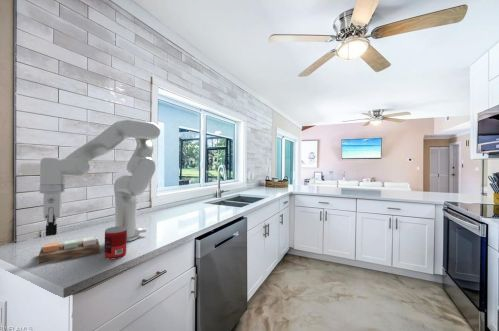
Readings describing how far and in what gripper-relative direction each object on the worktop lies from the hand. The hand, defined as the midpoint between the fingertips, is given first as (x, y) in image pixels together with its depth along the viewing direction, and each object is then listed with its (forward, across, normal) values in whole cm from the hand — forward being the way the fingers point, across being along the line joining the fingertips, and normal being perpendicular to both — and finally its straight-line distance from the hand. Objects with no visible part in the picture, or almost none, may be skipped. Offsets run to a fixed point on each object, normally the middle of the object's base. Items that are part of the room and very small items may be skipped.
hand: (51, 234), depth 90 cm
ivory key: (+7, 0, -13) cm, 14 cm away
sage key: (+7, 0, -6) cm, 9 cm away
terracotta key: (+7, 0, 0) cm, 7 cm away
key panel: (+9, 0, -6) cm, 11 cm away
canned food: (+9, -12, -21) cm, 26 cm away
